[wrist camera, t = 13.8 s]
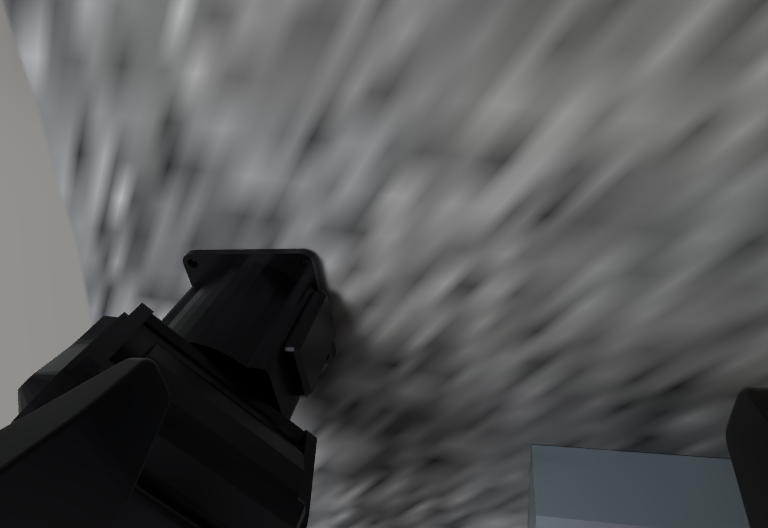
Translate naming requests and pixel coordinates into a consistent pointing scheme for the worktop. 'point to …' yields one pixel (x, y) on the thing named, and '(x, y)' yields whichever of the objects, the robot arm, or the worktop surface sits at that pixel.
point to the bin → (631, 490)
